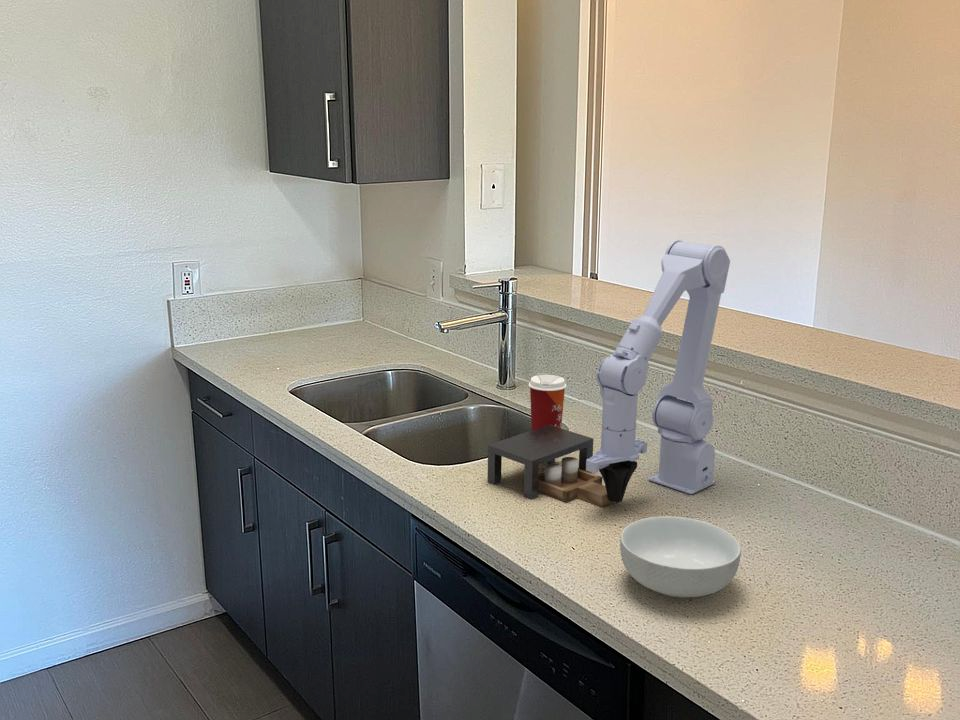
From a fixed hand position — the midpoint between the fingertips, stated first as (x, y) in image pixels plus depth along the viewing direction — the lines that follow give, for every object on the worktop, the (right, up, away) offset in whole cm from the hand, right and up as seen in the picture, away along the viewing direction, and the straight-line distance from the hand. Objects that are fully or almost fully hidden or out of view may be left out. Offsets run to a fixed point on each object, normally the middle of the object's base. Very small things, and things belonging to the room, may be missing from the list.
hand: (615, 500), depth 159 cm
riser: (-12, +2, +12) cm, 17 cm away
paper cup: (-10, +7, +30) cm, 32 cm away
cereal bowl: (+5, -8, -26) cm, 28 cm away
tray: (-6, +1, +6) cm, 9 cm away
